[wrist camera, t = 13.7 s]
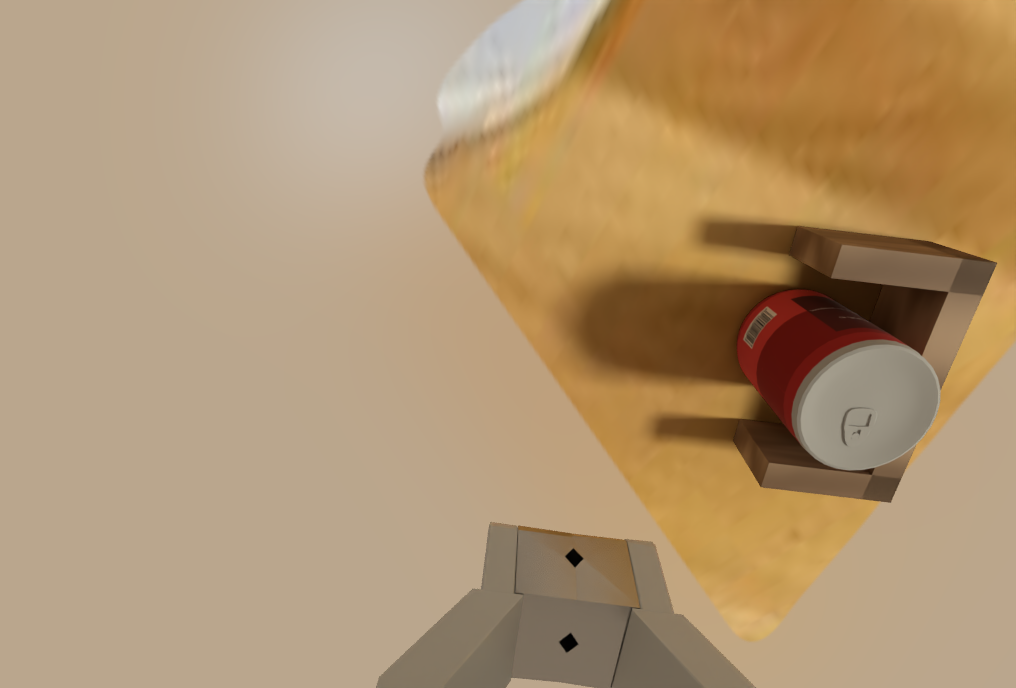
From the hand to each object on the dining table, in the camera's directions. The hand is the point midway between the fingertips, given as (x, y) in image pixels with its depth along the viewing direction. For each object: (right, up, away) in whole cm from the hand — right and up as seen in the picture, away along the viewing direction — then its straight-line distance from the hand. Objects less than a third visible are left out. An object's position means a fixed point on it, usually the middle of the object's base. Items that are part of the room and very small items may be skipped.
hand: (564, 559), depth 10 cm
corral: (+22, +4, +31) cm, 38 cm away
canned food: (+19, +4, +31) cm, 37 cm away
